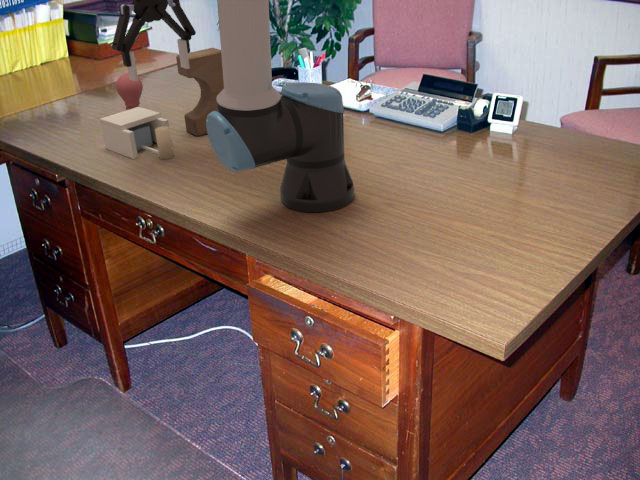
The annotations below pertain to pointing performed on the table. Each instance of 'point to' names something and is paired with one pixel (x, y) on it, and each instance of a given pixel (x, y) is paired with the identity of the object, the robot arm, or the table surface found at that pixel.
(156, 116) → the shelf lane
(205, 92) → the decorative block
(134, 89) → the light bulb
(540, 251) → the table surface
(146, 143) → the tethered block
